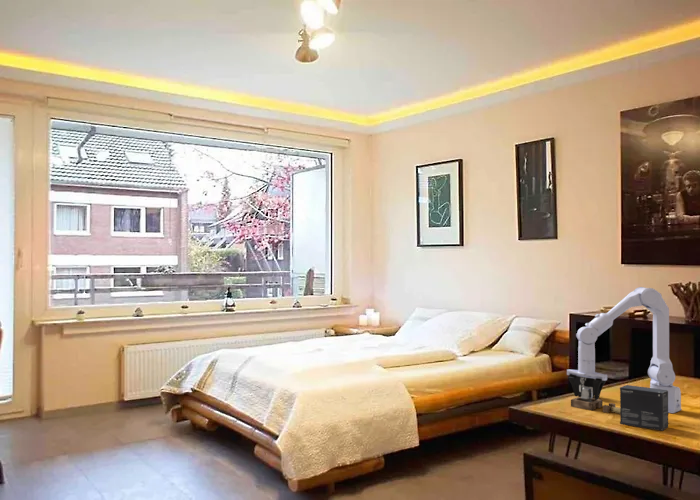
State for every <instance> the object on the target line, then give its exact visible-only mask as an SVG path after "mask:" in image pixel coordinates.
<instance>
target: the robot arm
mask: <svg viewBox="0 0 700 500" xmlns="http://www.w3.org/2000/svg"><path fill="white" fill-rule="evenodd" d="M641 306H643V307H645V308H646V309H647V310H648V311H649V312H650V313H652V357H651V358H650V359H651V360H650V365H649V367H648V369H647V375H648V377H649V378H650V381H649V382H650V383H649V388H655V389H663V390H668V414H669V413H670V414H675V413H677V412H680V411H682V392H681V388H680V387H679V386H675V385H674V383H675V381H676V373H675V371H674V367H673V363H672V361H671V359H670V308H669V306H668V305H667V302H666V301H665V299H664V298H663V296H662V293H660V292H659V291H658V290H656V289H655V288H653V287H644V286H639V287H636V288H635V289H634V290H633V291H630V292H629V293H628V294H627V295H626V296H625V297H623V298H622V299H621V300H620V301H619V302H618V303H617V304H616V305H614V306H613V307H612V308H611V309H610V310H608V312H605V313H604V312H600V313H596V314H595V315H594V318H593V319H592V320H591V321H589V322H586V323H585V324H584V325H585V326H582V327H580V328H579V329H578V330H577V331H576V332H577V333H575V337H576V338H577V340H578V347H577V351H578V353H577V354H578V355H577V356H578V357H577V359H578V360H577V363H578V364H577V368H578V370H577V369H569V368H568V369H566V376H568V377H567V380H568V381H569V383H570V385H571V387H572V390H573V395H574V397H579V384H580V378H581V377H586V378H593V379H595V380H593V385H594V397H593V398H594V399H595V400H598V399H599V400H600V395H601V391H602V390H603V388H604V385H605V384H606V381H608V374H604V373H601V372H597V371H596V348H595V347H596V346H595V345H596V344H595V343H596V341H597V340H598V337H600V336H601V335H602V334H603V333H604V332H606V331H607V330H608V329H610V328H611V327H612V326H613V325H614V320H615V319H617V318H618V317H619V316H621V315H622V314H624V313H625V312H626V311H628V310H629V309H630V308H634V307H641Z"/></svg>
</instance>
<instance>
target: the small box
mask: <svg viewBox="0 0 700 500" xmlns="http://www.w3.org/2000/svg"><path fill="white" fill-rule="evenodd" d="M619 393H620V395H619V397H620V399H619V400H620V401H619V405H620V406H619V408H620V413H619V416H620V421H619V423H620V425H624V424H625V425H626V426H630V427H636V428H642V429H643V428H644V429H650V430H655V431H662V432H663V431H665V430H666V429H668V428H669V412H668V390H663V389H655V388H650V387H646V386H637V385H630V384H625V385H623V386H620V387H619ZM625 425H624V426H625Z"/></svg>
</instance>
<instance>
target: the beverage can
mask: <svg viewBox="0 0 700 500" xmlns="http://www.w3.org/2000/svg"><path fill="white" fill-rule="evenodd" d="M576 370H578V367H576ZM593 380H596V379H593V378H586V377H581V378H580V384H579V396H578V397H581V387H582V386H588V387H592V388H593V398H594V385H593Z"/></svg>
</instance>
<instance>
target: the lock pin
mask: <svg viewBox="0 0 700 500" xmlns="http://www.w3.org/2000/svg"><path fill="white" fill-rule="evenodd" d="M610 411H611V412H610V413H614V412H615V413H616V414H620V407H617V406H615V407H612V406H610Z"/></svg>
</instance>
